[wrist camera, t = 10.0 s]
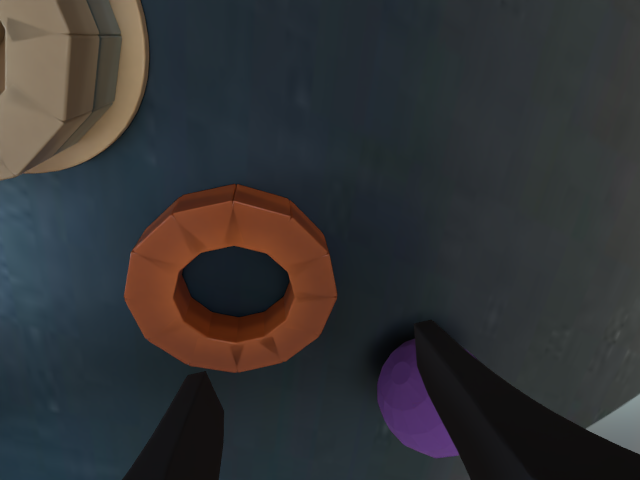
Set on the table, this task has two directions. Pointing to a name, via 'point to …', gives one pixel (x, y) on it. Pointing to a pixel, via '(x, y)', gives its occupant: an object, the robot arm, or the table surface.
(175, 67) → the table surface
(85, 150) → the ring stand
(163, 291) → the top ring
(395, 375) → the purple maraca
